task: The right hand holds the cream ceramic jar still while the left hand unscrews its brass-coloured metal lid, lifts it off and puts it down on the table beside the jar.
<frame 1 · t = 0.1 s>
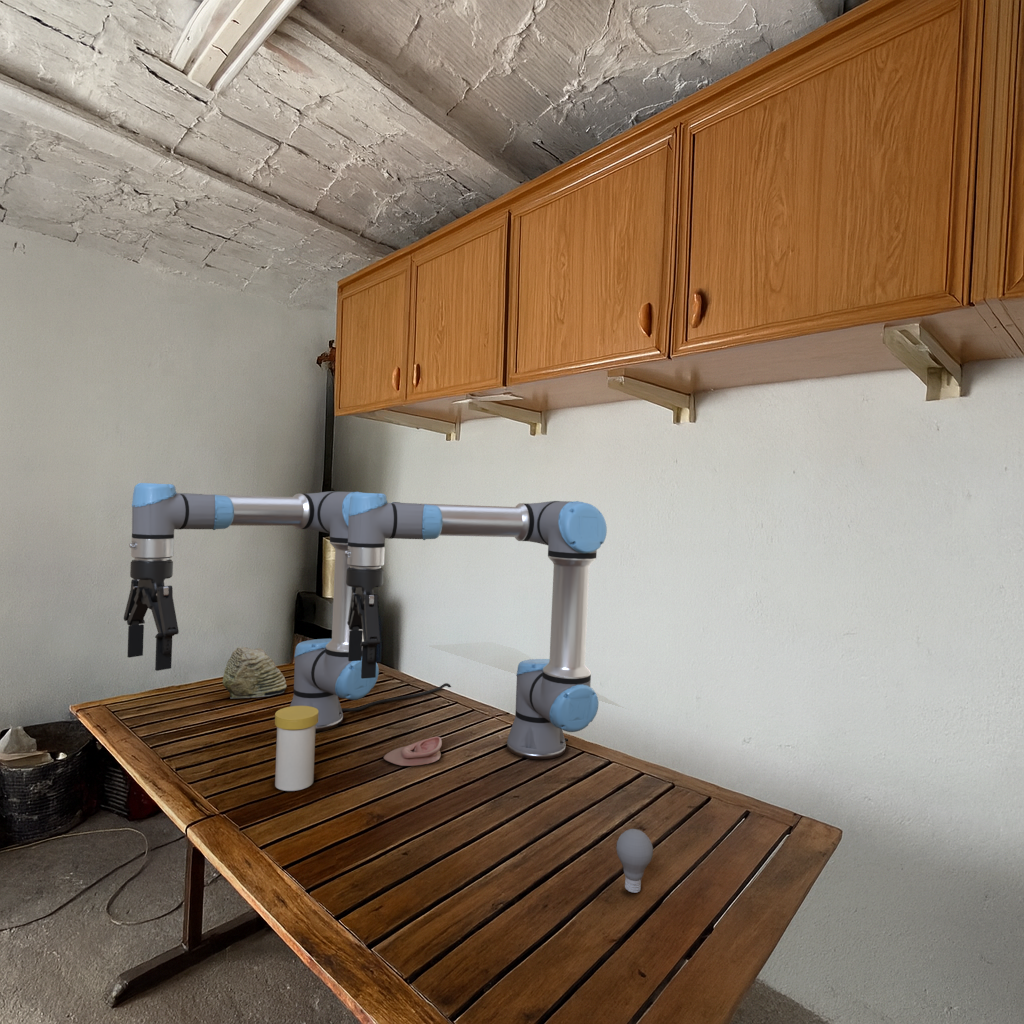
left hand: (148, 662, 129), 28 cm above the table, tool pointing down, fingers open, 13 cm apart
right hand: (361, 668, 132), 28 cm above the table, tool pointing down, fingers open, 13 cm apart
lid: (297, 713, 139), point 15 cm above the table, screwed on, not yet turned
fossil: (254, 694, 198), on the table
jar: (294, 782, 140), on the table
light bulb: (632, 891, 106), on the table
anatomical model: (412, 757, 156), on the table
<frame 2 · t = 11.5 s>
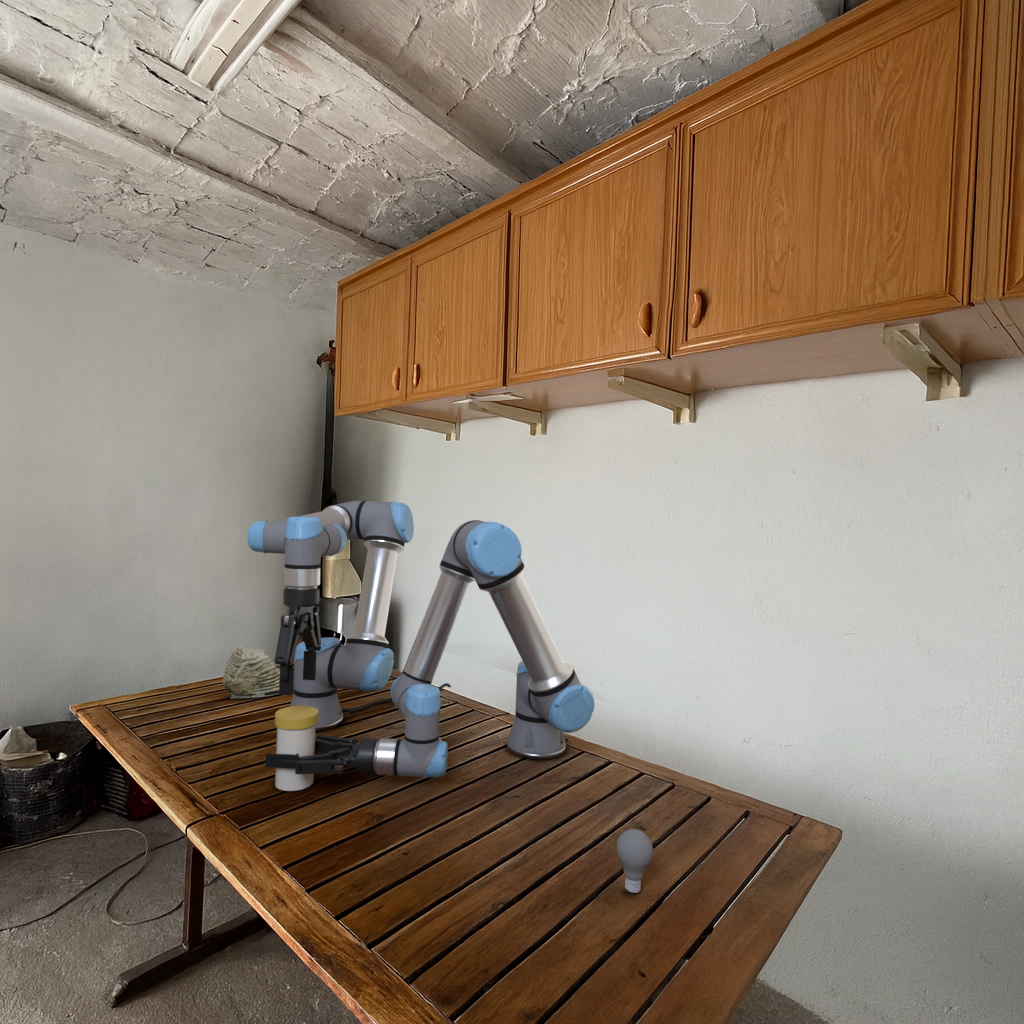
left hand: (298, 686, 139), 21 cm above the table, tool pointing down, fingers open, 11 cm apart
right hand: (274, 752, 140), 7 cm above the table, tool horizontal, fingers closed on jar, 8 cm apart
jar: (294, 782, 140), on the table, touching right hand
everything else where it was.
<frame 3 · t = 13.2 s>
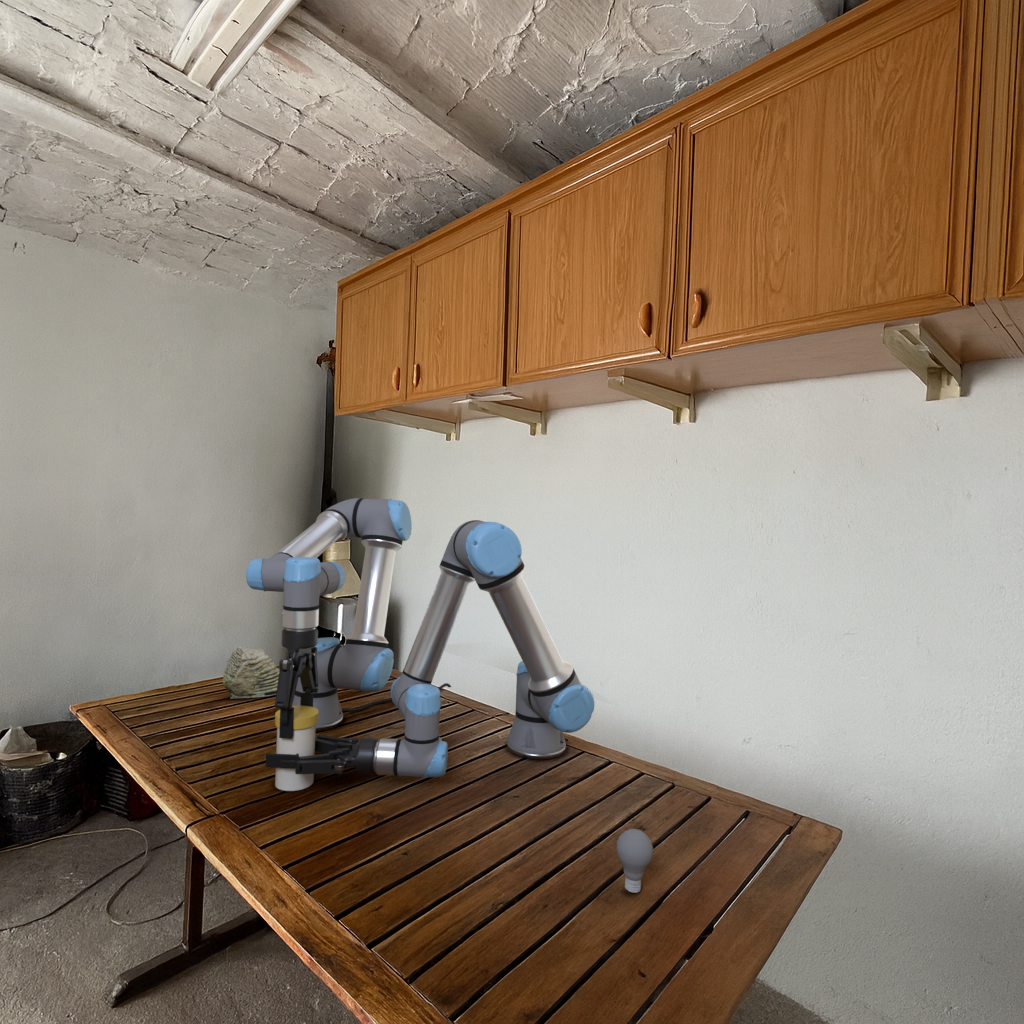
left hand: (296, 729, 140), 12 cm above the table, tool pointing down, fingers closed on lid, 9 cm apart
right hand: (274, 752, 140), 7 cm above the table, tool horizontal, fingers closed on jar, 8 cm apart
lid: (297, 713, 139), point 15 cm above the table, screwed on, not yet turned, touching left hand
jar: (294, 782, 140), on the table, touching right hand
everything else where it was.
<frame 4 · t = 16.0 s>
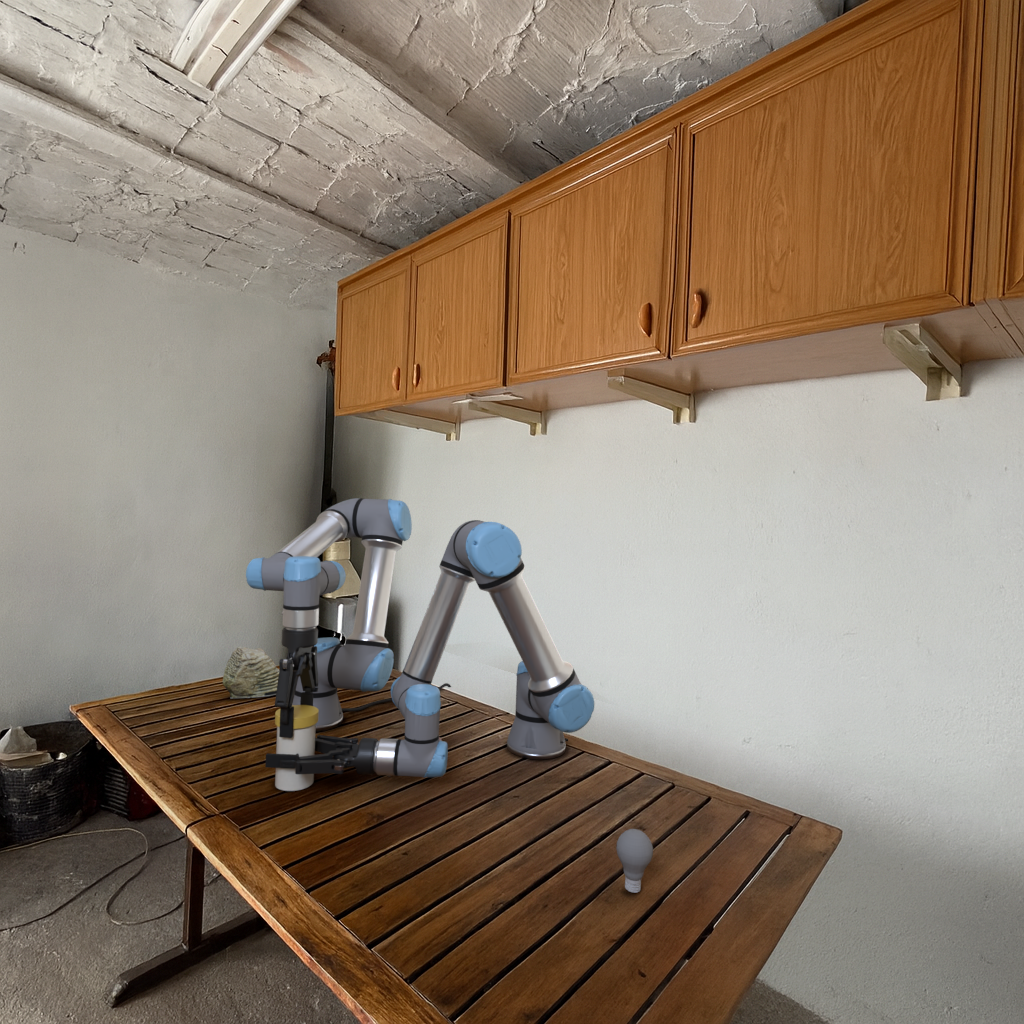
left hand: (296, 728, 140), 12 cm above the table, tool pointing down, fingers closed on lid, 9 cm apart
right hand: (274, 752, 140), 7 cm above the table, tool horizontal, fingers closed on jar, 8 cm apart
lid: (297, 713, 139), point 15 cm above the table, turned 63° so far, risen 0.2 cm, still on its thread, touching left hand
jar: (294, 782, 140), on the table, touching right hand
everything else where it was.
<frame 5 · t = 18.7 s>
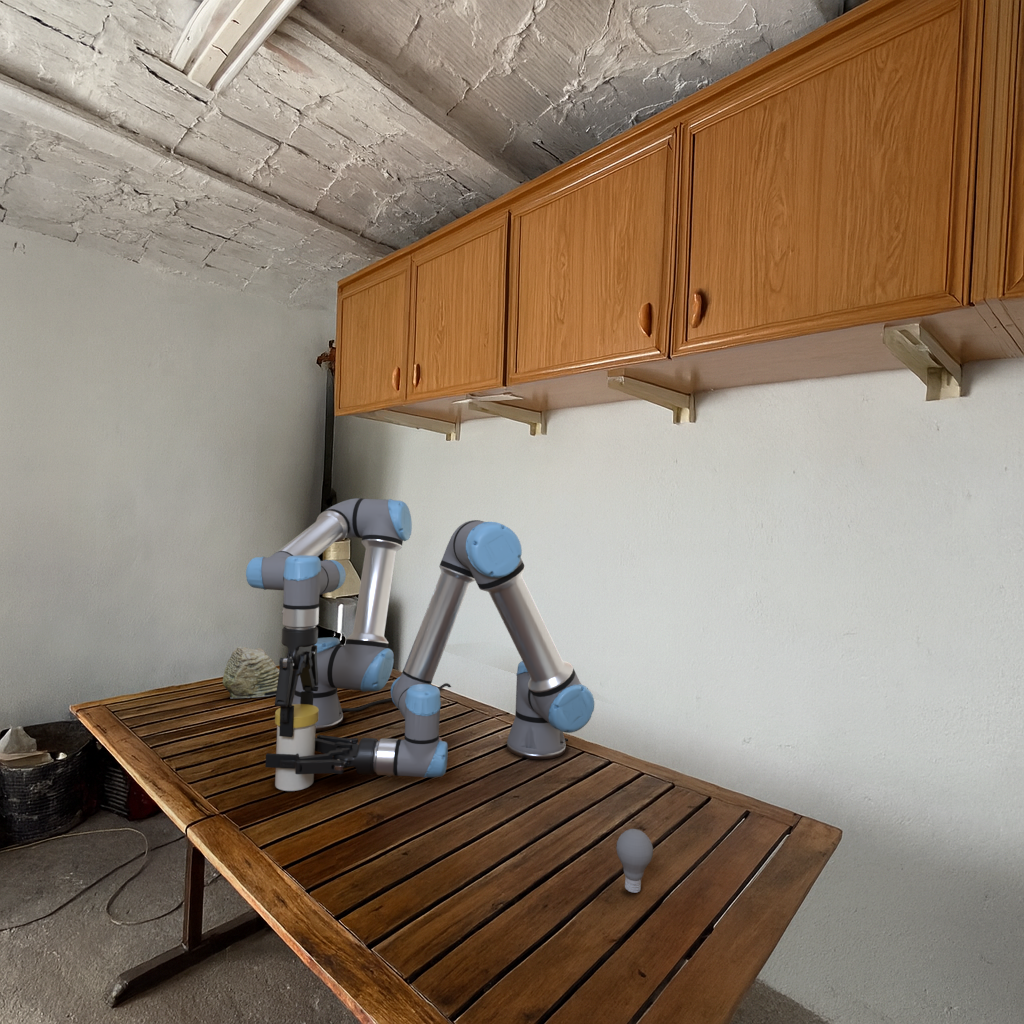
left hand: (296, 727, 140), 12 cm above the table, tool pointing down, fingers closed on lid, 9 cm apart
right hand: (274, 752, 140), 7 cm above the table, tool horizontal, fingers closed on jar, 8 cm apart
lid: (297, 712, 139), point 16 cm above the table, turned 126° so far, risen 0.4 cm, still on its thread, touching left hand
jar: (294, 782, 140), on the table, touching right hand
everything else where it was.
when the left hand's fingers open (0 cm above the table, at t = 24.5 s): lid drops 2 cm, point 2 cm above the table.
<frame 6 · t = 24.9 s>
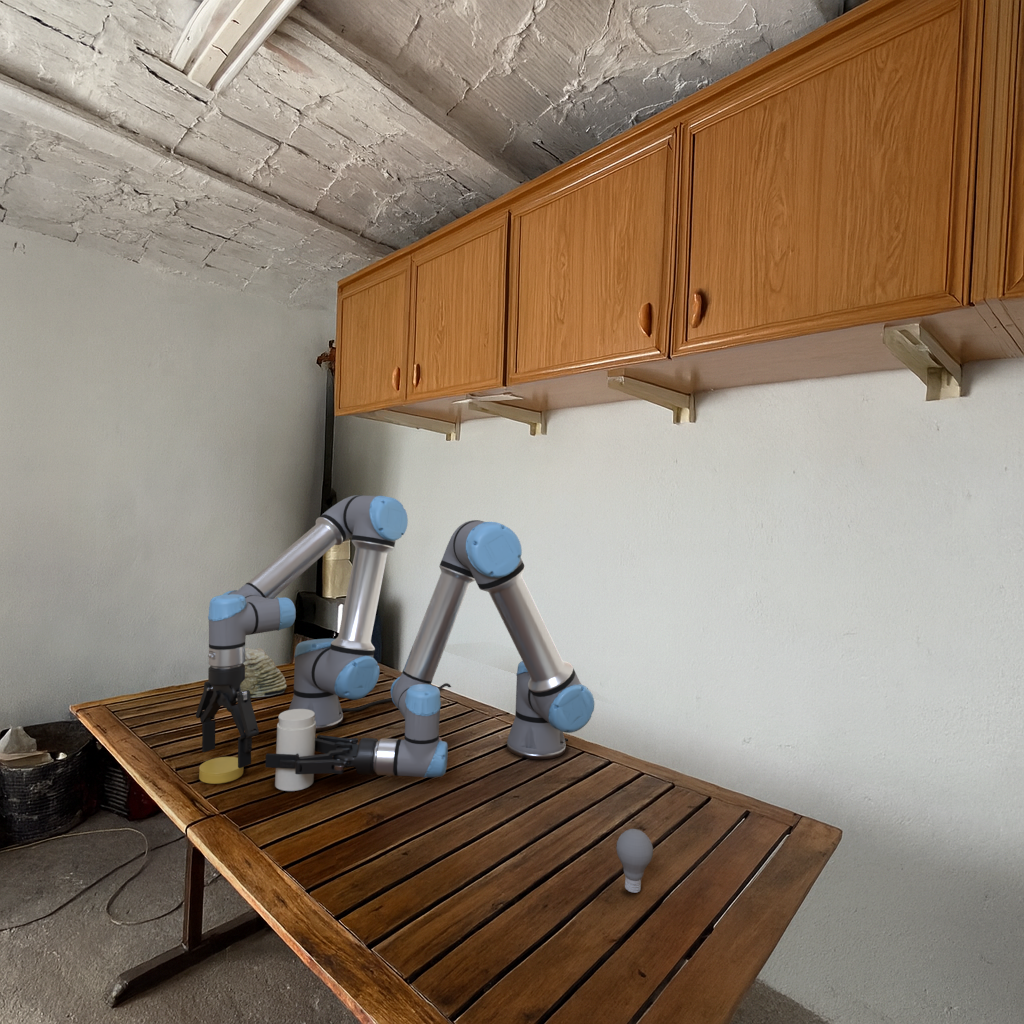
left hand: (226, 757, 143), 4 cm above the table, tool pointing down, fingers open, 13 cm apart
right hand: (274, 752, 140), 7 cm above the table, tool horizontal, fingers closed on jar, 8 cm apart
lid: (221, 766, 142), point 2 cm above the table, off its thread
jar: (294, 782, 140), on the table, touching right hand
everything else where it was.
when the right hand's fingers open (7 cm above the table, at t = 25.3 s): jar stays where it is, on the table.
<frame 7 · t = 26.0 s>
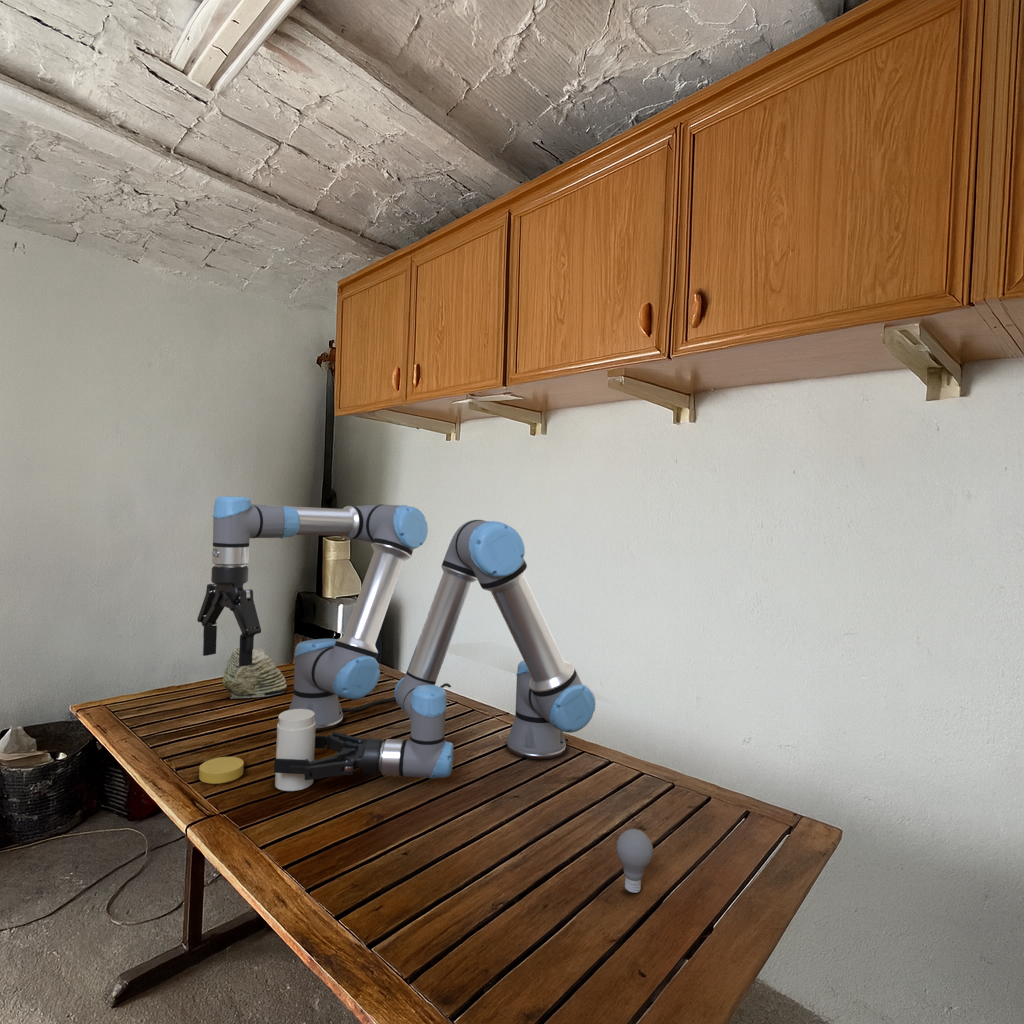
left hand: (227, 659, 142), 26 cm above the table, tool pointing down, fingers open, 13 cm apart
right hand: (286, 752, 140), 7 cm above the table, tool horizontal, fingers open, 13 cm apart
jar: (294, 782, 140), on the table
everything else where it was.
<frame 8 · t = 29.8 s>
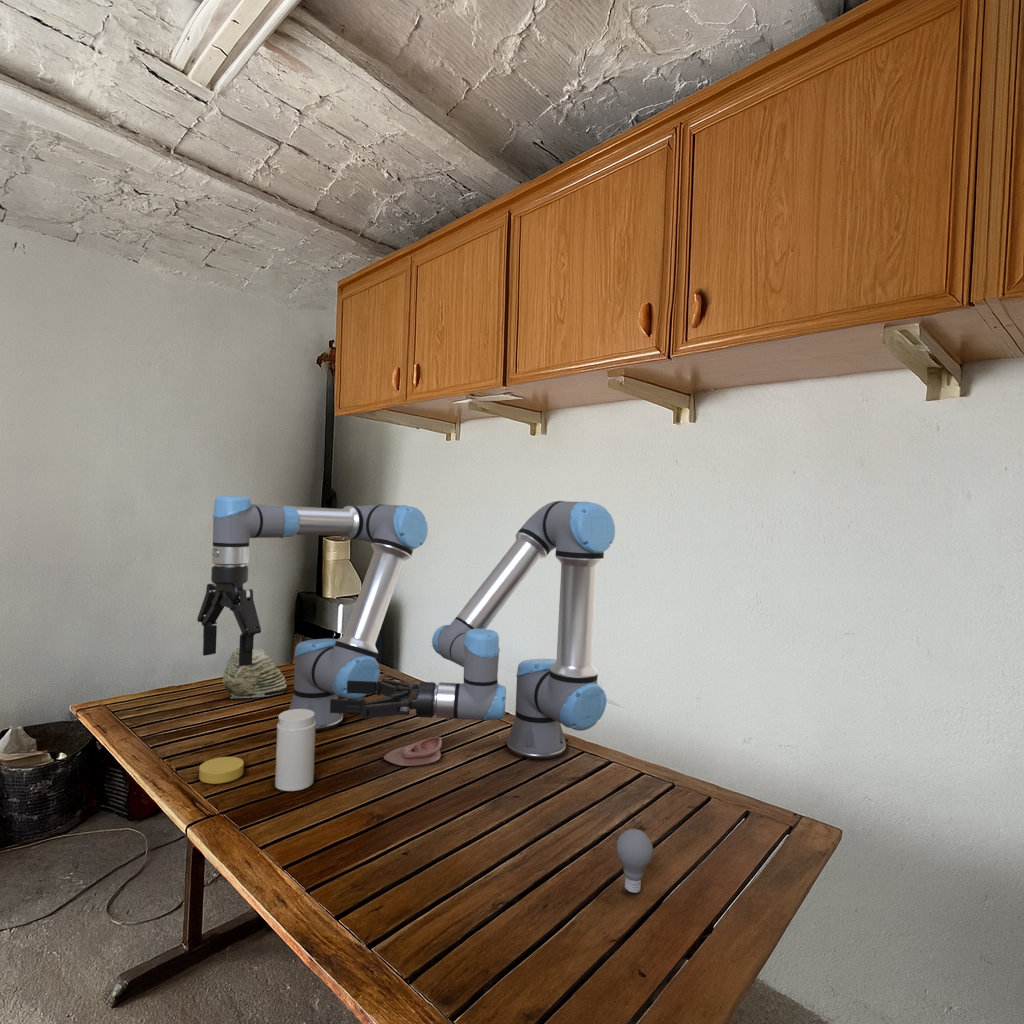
left hand: (226, 659, 142), 26 cm above the table, tool pointing down, fingers open, 13 cm apart
right hand: (339, 695, 139), 20 cm above the table, tool horizontal, fingers open, 13 cm apart
nothing on the table moved.
at the end: lid came off its thread; lid point 1.9 cm above the table; the left hand is holding nothing; the right hand is holding nothing; jar tilted 0°; jar moved 0.0 cm from its start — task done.
